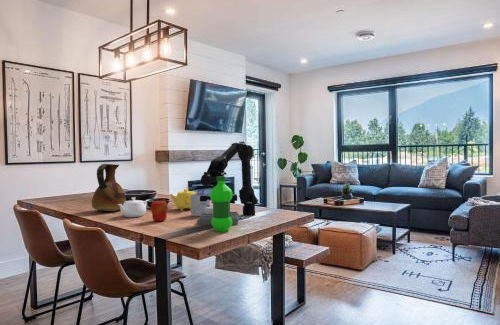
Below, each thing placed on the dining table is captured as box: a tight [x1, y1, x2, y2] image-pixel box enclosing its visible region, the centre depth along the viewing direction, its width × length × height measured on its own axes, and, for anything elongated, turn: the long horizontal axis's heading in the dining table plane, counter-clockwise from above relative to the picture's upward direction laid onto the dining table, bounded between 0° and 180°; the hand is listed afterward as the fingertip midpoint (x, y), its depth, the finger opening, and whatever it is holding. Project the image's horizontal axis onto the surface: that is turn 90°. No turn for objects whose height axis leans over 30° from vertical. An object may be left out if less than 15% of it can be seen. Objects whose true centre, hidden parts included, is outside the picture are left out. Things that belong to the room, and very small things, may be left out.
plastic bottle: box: [209, 175, 234, 232], centre depth 164 cm, size 10×10×25 cm
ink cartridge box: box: [190, 189, 211, 217], centre depth 202 cm, size 10×6×14 cm, turn 78°
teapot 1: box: [117, 196, 148, 218], centre depth 203 cm, size 22×14×11 cm, turn 153°
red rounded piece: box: [150, 200, 169, 222], centre depth 188 cm, size 9×8×12 cm
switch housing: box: [197, 211, 239, 226], centre depth 184 cm, size 20×16×4 cm
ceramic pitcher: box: [91, 163, 127, 212], centre depth 221 cm, size 20×20×30 cm
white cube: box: [206, 206, 213, 214], centre depth 189 cm, size 4×4×4 cm
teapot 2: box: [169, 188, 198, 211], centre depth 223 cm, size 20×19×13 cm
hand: (219, 214), depth 180 cm, fingers closed
